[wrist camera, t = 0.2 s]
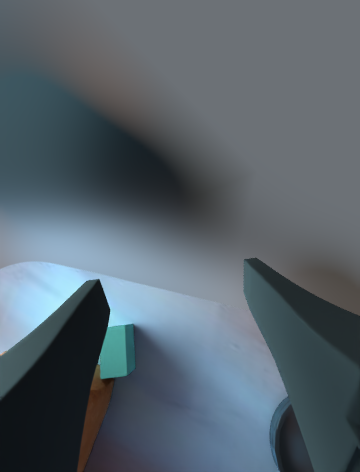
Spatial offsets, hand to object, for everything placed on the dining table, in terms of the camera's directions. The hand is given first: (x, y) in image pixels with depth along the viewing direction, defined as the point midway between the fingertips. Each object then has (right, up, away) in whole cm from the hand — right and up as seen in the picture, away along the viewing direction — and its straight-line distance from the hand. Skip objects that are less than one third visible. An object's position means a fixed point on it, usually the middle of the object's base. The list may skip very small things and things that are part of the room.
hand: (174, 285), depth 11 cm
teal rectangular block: (-10, -17, +28) cm, 34 cm away
